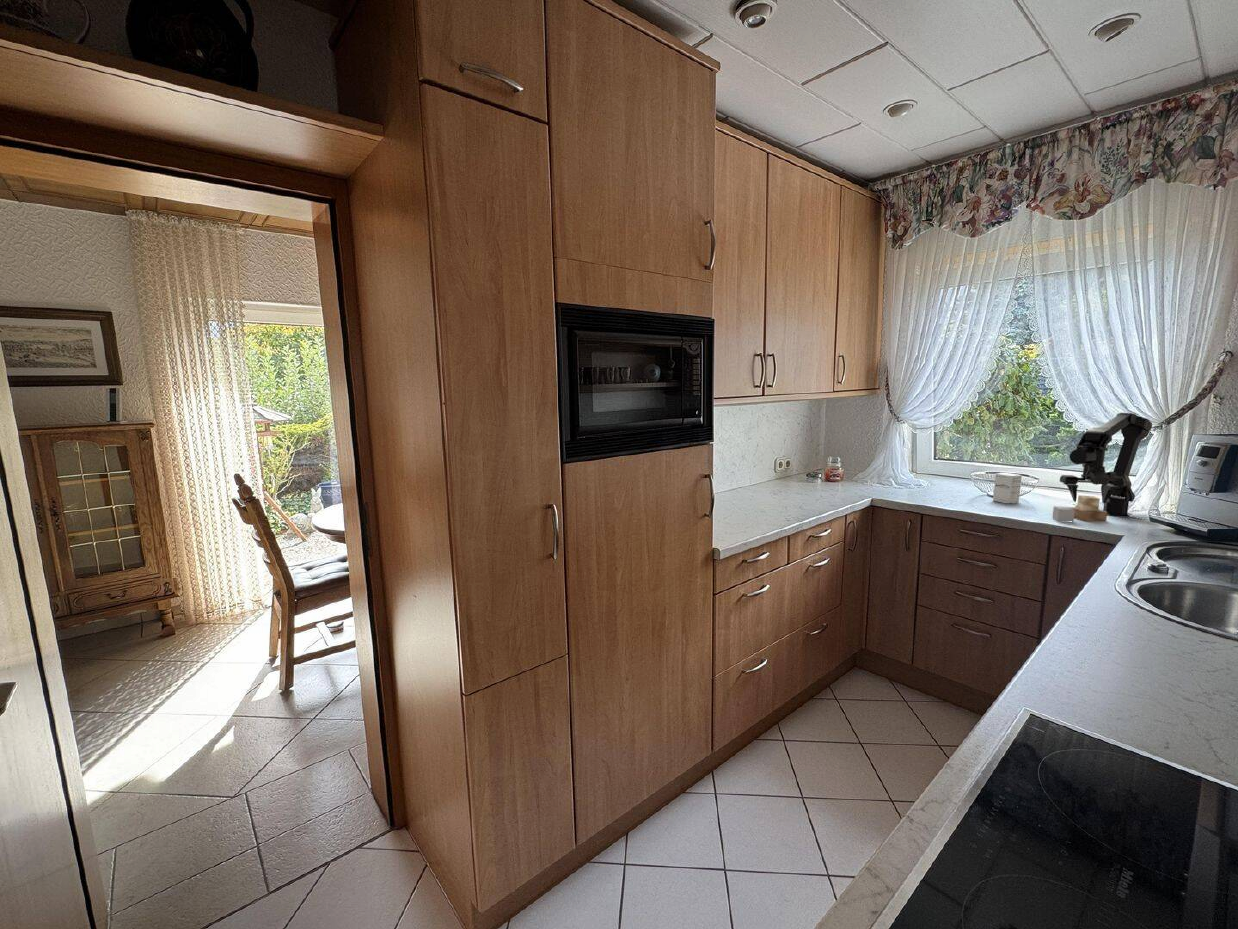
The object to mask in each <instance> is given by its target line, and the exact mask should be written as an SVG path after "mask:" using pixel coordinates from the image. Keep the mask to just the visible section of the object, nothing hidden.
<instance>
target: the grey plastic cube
mask: <svg viewBox="0 0 1238 929" xmlns="http://www.w3.org/2000/svg"><path fill="white" fill-rule="evenodd" d="M1074 512H1075V510H1074V509H1072V508H1070V506H1059V505H1057V506H1056V505H1054V506H1053V510H1052V517H1051V518H1053V519H1052V520H1054V521H1055V522H1058V521H1072V522H1071V523H1074V521H1075V520H1074V519H1075V518H1074Z"/></svg>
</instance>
